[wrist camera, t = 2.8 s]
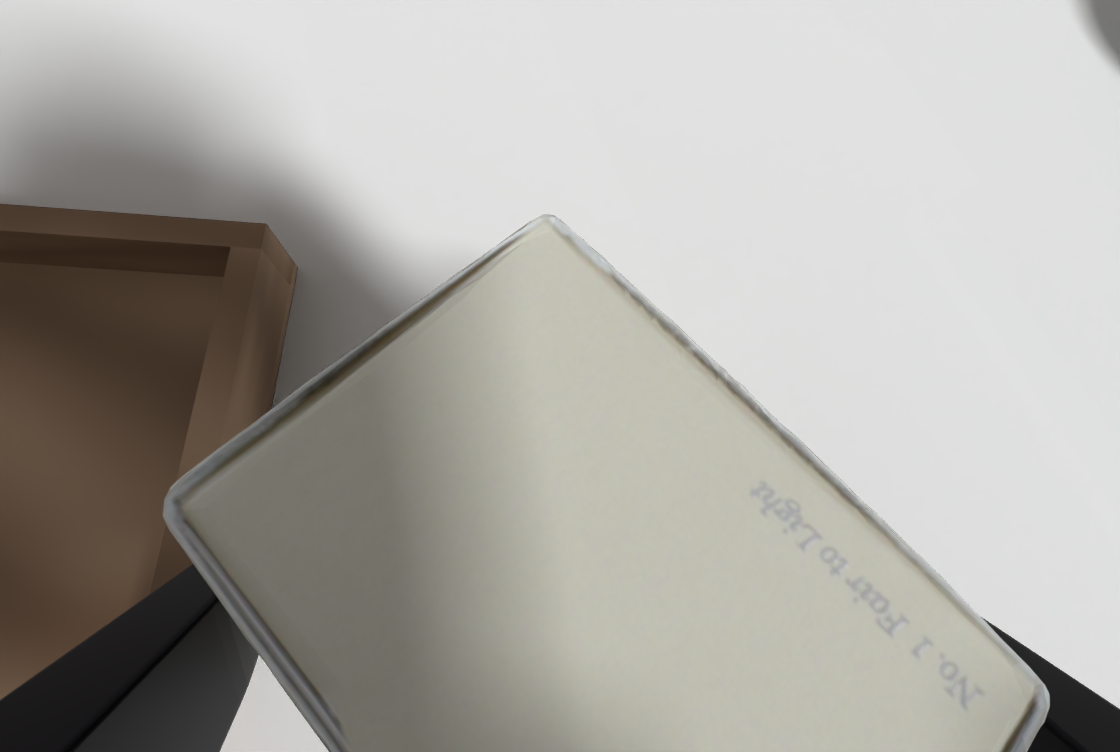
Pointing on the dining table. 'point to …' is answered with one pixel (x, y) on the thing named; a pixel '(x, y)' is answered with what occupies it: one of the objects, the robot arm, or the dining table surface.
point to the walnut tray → (117, 402)
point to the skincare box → (577, 545)
